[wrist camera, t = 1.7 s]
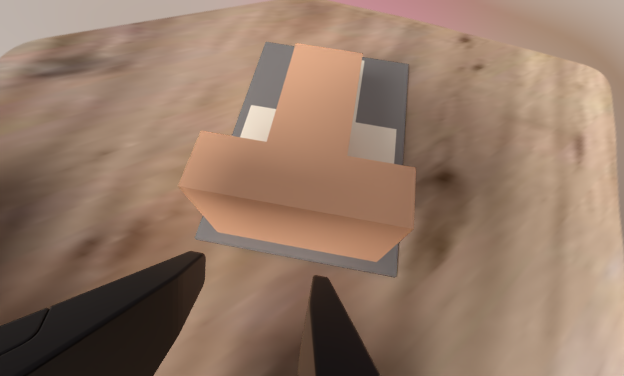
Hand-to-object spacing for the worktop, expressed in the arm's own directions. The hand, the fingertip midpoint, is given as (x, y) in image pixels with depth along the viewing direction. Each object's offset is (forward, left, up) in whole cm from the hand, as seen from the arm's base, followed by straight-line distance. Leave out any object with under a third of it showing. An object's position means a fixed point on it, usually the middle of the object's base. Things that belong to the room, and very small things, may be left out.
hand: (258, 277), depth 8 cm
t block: (+7, -7, -13) cm, 17 cm away
